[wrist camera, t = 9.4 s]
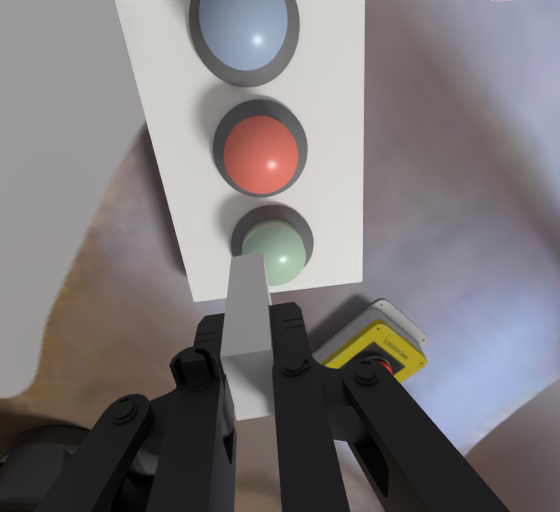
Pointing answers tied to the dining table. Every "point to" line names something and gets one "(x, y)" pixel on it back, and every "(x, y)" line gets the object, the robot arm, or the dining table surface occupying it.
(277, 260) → the sage-green button
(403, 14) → the dining table surface
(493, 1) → the smoothie
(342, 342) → the emergency button
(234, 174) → the red button
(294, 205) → the button panel
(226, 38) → the slate-blue button
